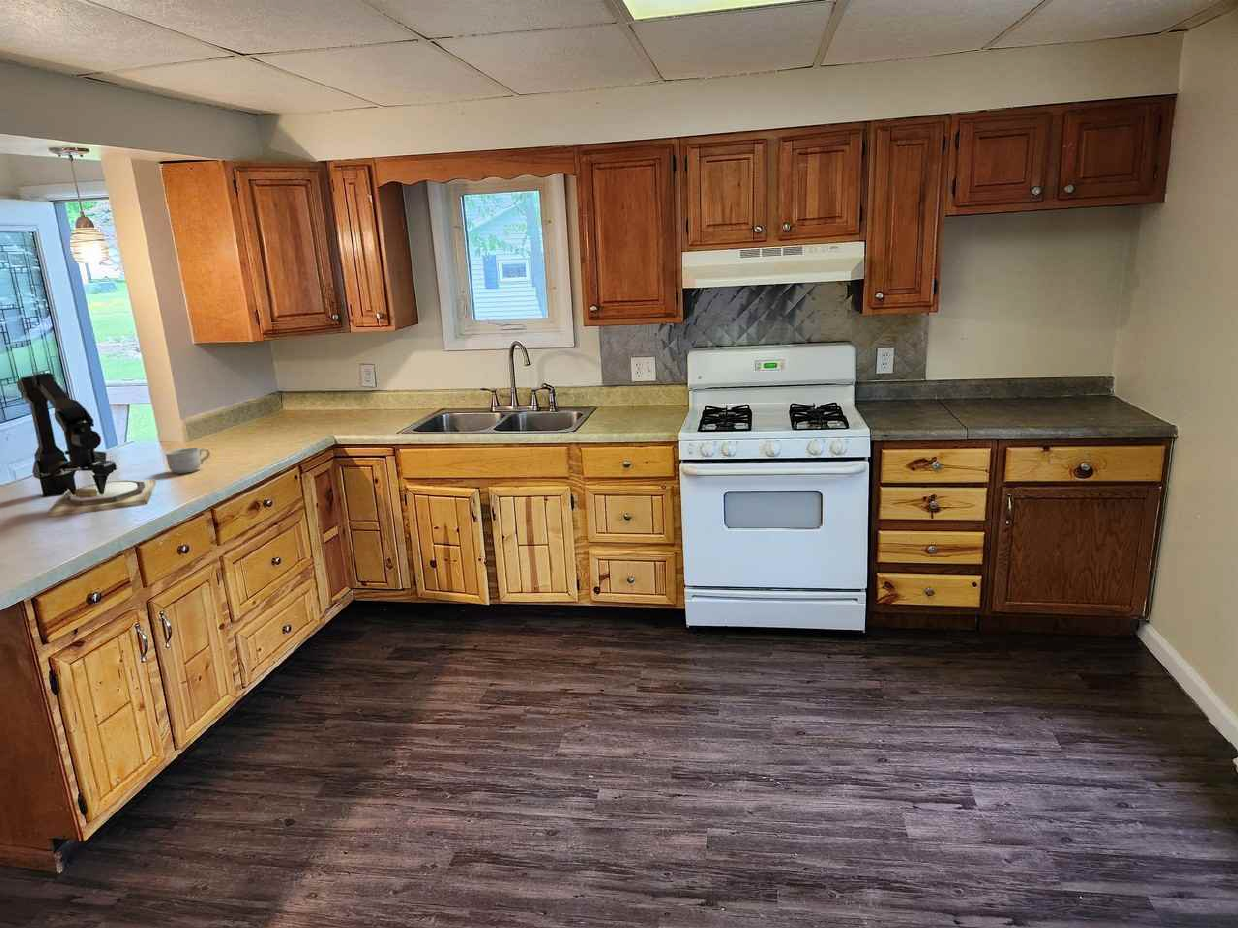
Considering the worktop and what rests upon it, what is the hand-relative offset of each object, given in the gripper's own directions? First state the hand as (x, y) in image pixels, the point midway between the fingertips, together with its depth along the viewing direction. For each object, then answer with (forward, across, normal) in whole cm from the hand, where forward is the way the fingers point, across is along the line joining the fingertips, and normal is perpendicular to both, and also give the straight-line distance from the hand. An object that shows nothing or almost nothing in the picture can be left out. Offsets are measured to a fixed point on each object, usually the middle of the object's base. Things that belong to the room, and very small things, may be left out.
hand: (88, 494), depth 250 cm
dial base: (+4, 0, -6) cm, 8 cm away
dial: (+2, 0, -6) cm, 7 cm away
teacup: (+4, -7, -40) cm, 41 cm away
